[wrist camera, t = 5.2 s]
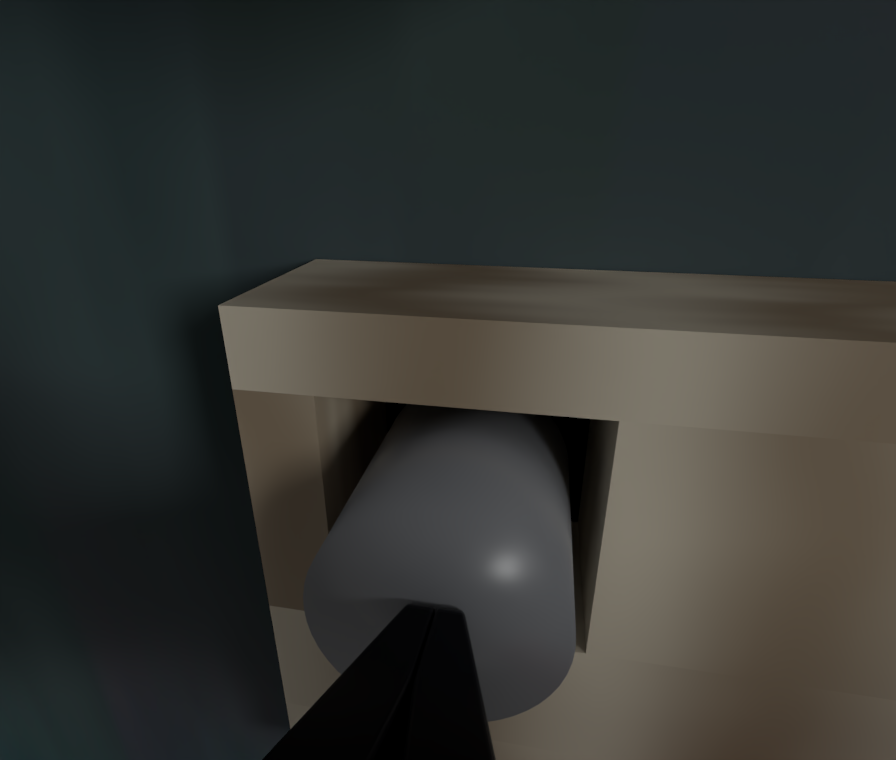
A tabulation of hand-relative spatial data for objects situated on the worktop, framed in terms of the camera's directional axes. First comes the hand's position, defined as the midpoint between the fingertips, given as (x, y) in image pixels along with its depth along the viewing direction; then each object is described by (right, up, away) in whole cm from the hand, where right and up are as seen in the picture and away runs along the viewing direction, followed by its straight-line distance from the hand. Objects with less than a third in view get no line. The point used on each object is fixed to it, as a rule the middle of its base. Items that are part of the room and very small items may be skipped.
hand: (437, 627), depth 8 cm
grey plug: (+1, +2, +4) cm, 4 cm away
